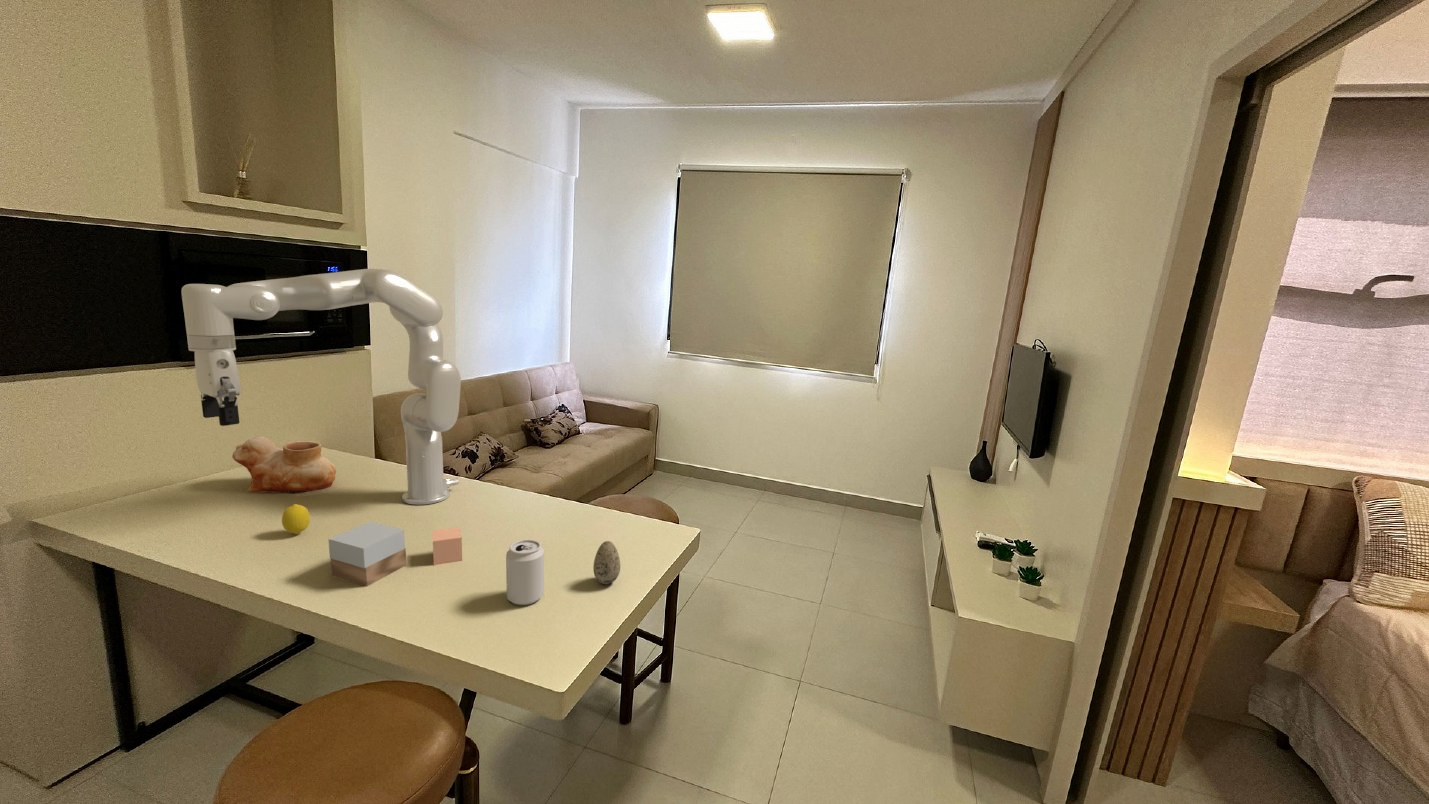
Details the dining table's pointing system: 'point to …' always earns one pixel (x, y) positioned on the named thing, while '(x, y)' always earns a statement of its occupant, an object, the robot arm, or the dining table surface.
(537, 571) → the can
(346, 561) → the tower top
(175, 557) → the dining table surface
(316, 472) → the ceramic vessel
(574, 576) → the dining table surface
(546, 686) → the dining table surface
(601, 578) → the decorative egg
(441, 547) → the block
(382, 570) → the tower base
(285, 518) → the lemon
